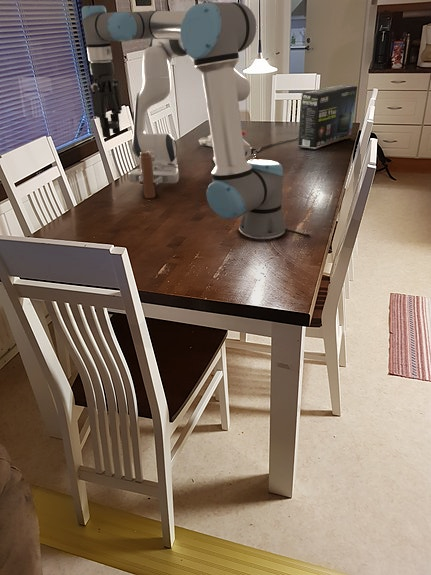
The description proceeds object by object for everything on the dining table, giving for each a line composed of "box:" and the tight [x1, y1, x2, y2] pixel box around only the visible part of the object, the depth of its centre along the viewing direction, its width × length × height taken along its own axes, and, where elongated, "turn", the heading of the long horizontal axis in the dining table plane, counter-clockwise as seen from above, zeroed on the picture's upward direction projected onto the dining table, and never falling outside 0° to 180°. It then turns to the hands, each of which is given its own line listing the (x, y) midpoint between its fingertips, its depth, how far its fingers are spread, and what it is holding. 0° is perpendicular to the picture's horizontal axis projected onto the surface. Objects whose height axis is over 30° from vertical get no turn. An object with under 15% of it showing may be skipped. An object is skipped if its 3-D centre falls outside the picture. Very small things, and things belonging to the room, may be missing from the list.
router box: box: [297, 84, 358, 151], centre depth 238 cm, size 36×11×27 cm, turn 134°
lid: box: [108, 120, 118, 130], centre depth 159 cm, size 5×5×2 cm
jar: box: [139, 151, 157, 199], centre depth 179 cm, size 4×4×18 cm
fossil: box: [198, 133, 213, 148], centre depth 249 cm, size 18×11×15 cm
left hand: (147, 182), depth 179 cm, fingers closed on jar, 4 cm apart
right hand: (111, 135), depth 160 cm, fingers closed on lid, 5 cm apart
